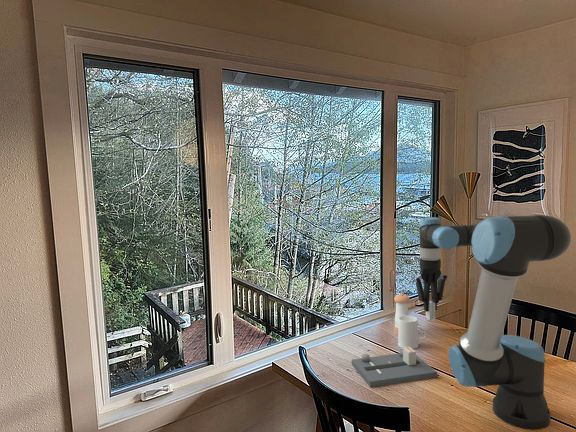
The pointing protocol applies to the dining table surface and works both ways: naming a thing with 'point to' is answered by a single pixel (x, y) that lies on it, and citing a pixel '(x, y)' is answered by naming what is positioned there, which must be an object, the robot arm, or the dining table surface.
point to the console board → (391, 369)
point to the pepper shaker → (400, 308)
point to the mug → (408, 332)
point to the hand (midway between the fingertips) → (430, 318)
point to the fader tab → (409, 356)
